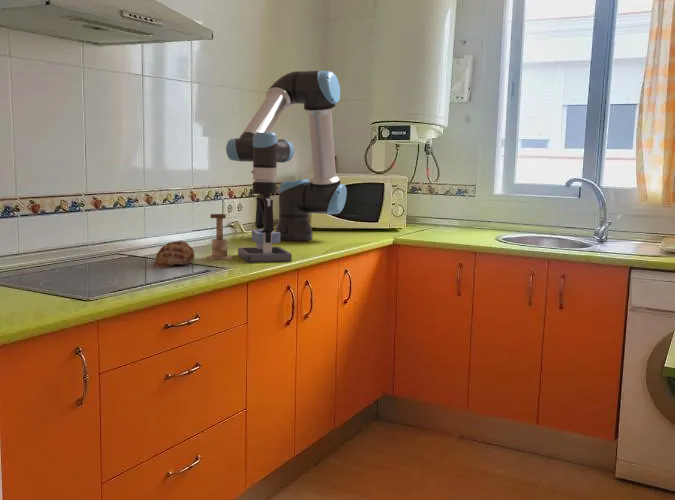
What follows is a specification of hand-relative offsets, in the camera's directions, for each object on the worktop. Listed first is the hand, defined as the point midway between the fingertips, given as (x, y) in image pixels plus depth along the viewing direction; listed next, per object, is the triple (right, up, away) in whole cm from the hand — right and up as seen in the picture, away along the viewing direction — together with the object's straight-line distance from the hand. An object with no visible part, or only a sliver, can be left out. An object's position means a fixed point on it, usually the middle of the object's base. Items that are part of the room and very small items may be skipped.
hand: (264, 250), depth 234 cm
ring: (0, +3, 0) cm, 3 cm away
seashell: (-25, -5, -16) cm, 30 cm away
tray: (0, -2, 0) cm, 3 cm away
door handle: (-14, -2, -1) cm, 14 cm away
